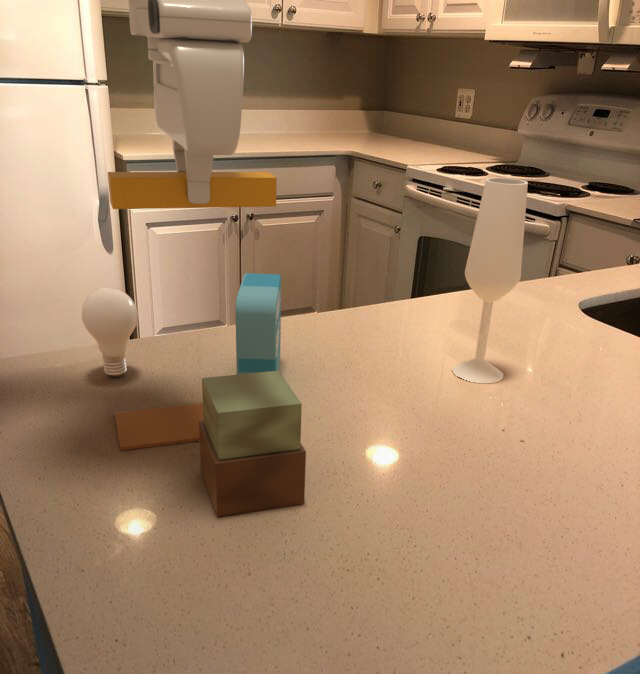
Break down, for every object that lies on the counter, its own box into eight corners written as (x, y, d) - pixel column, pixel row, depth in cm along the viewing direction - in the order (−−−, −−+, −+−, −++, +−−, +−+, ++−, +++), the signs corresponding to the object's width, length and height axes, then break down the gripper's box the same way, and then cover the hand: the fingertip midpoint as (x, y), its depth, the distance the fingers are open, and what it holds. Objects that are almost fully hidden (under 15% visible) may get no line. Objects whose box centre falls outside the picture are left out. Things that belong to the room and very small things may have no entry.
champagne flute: (441, 371, 93) (465, 179, 81) (471, 359, 97) (498, 174, 86) (484, 388, 88) (515, 187, 77) (513, 374, 93) (548, 182, 81)
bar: (112, 209, 58) (109, 177, 57) (110, 202, 61) (107, 171, 60) (276, 206, 63) (276, 177, 62) (267, 200, 65) (268, 171, 64)
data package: (275, 399, 83) (276, 300, 78) (236, 398, 83) (234, 299, 77) (280, 360, 94) (281, 271, 88) (246, 359, 94) (245, 269, 88)
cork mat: (120, 450, 71) (120, 447, 71) (114, 415, 78) (114, 412, 78) (256, 433, 76) (256, 430, 75) (239, 402, 82) (239, 399, 82)
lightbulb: (102, 390, 84) (92, 300, 78) (80, 372, 88) (69, 286, 83) (151, 378, 87) (144, 291, 82) (128, 361, 91) (120, 278, 86)
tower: (217, 517, 62) (213, 415, 57) (200, 471, 68) (196, 376, 64) (304, 503, 64) (307, 404, 60) (280, 460, 71) (281, 368, 66)
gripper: (132, 14, 63) (143, 177, 69) (163, 5, 46) (173, 223, 52) (203, 19, 65) (207, 177, 71) (258, 12, 48) (257, 221, 54)
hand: (193, 197), depth 62 cm, fingers closed on bar, 3 cm apart
